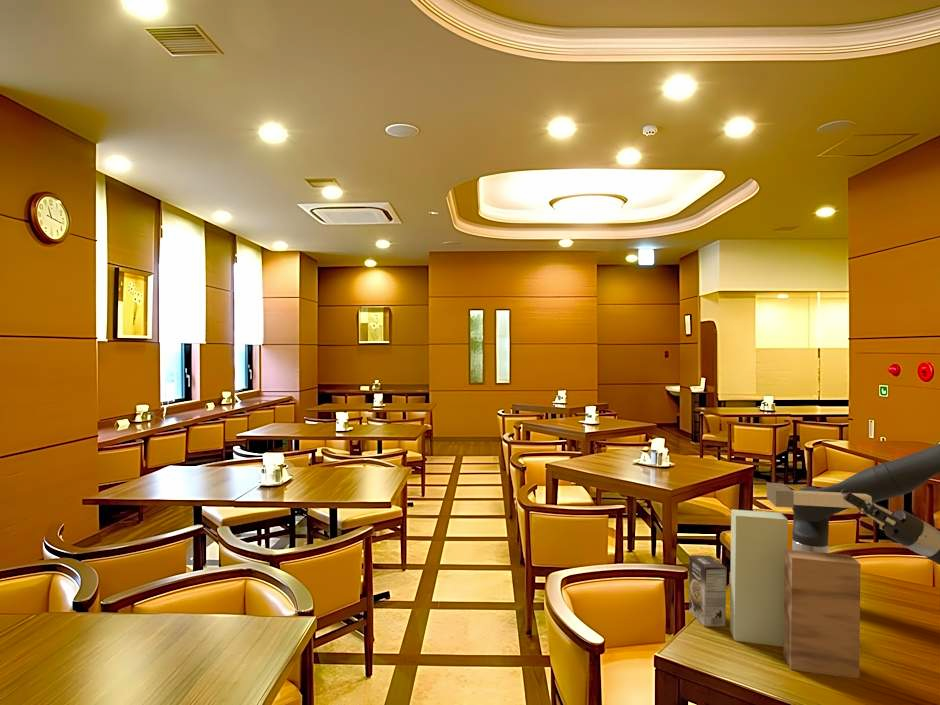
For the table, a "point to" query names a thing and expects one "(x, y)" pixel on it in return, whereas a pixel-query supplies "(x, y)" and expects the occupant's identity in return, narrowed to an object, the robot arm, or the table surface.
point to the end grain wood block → (808, 497)
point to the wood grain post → (822, 613)
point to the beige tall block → (757, 576)
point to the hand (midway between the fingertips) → (844, 494)
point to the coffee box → (707, 590)
